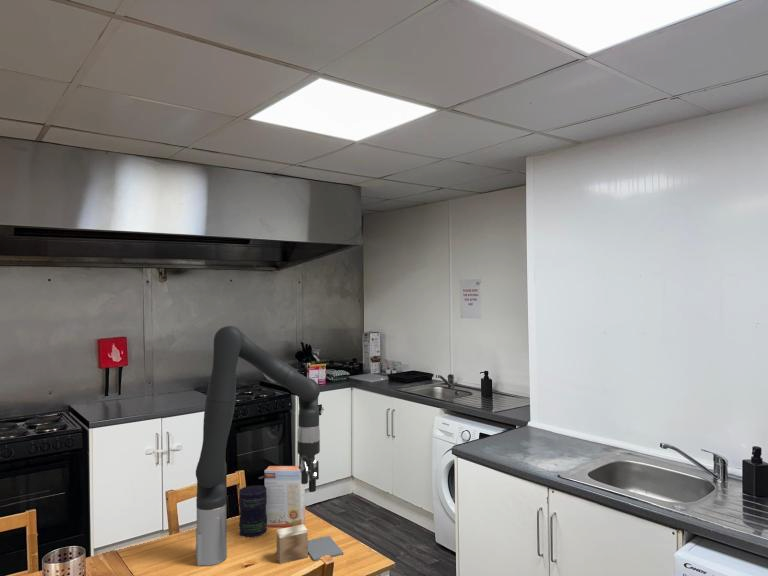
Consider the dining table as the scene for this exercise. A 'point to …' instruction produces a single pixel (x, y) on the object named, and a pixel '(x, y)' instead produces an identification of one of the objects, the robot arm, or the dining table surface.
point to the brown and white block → (292, 543)
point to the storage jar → (253, 511)
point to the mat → (323, 548)
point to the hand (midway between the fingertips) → (308, 487)
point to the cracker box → (284, 496)
